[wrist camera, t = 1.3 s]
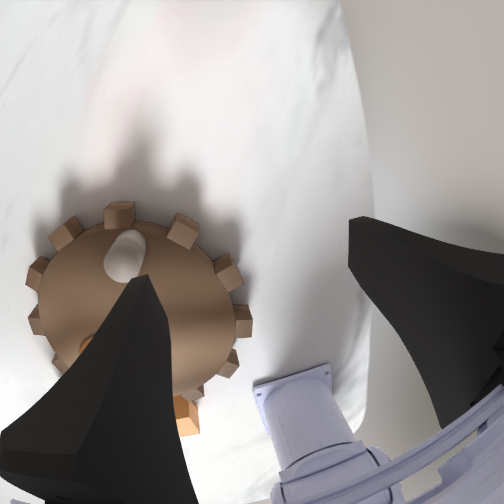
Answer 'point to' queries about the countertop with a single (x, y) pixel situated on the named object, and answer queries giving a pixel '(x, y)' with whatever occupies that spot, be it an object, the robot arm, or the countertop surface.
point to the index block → (186, 416)
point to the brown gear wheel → (164, 282)
